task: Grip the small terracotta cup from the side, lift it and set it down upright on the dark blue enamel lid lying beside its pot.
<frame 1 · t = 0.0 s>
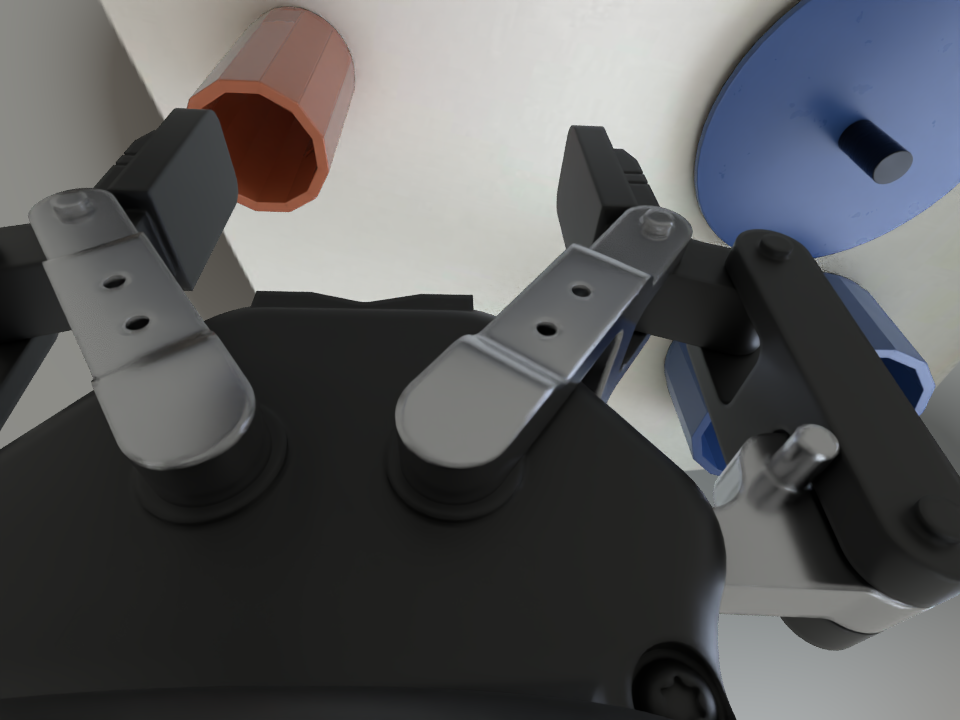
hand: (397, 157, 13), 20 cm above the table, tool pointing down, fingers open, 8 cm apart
cup: (301, 67, 29), on the table
pot: (763, 348, 48), on the table
lid: (850, 131, 33), point 1 cm above the table
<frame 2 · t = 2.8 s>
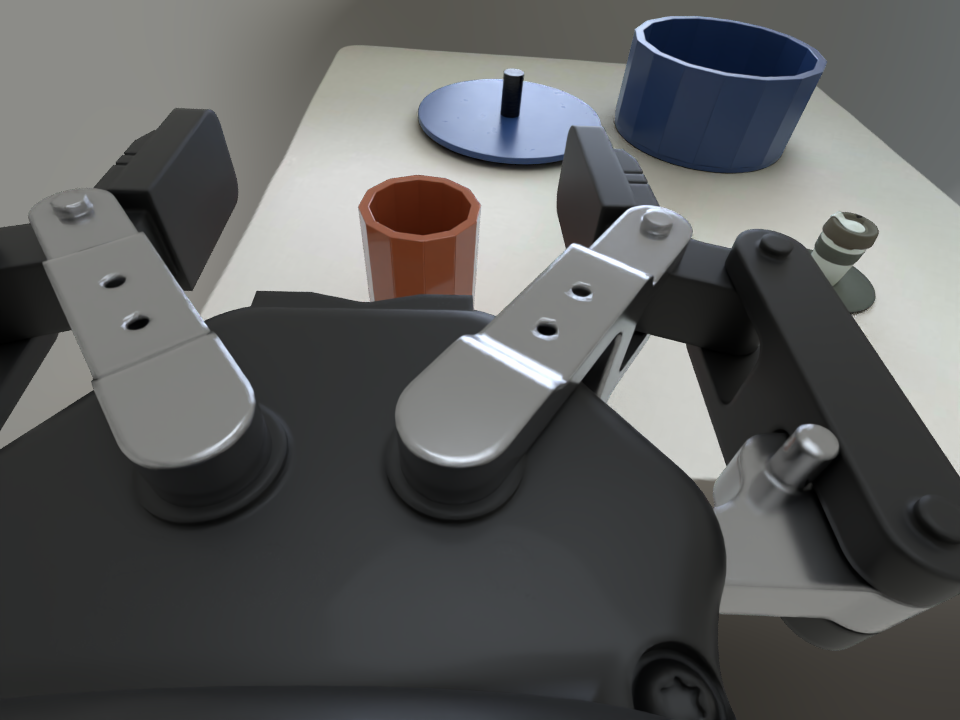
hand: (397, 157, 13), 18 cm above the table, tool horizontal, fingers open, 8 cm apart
cup: (424, 346, 33), on the table
pot: (696, 132, 57), on the table
lid: (509, 119, 55), point 1 cm above the table
coffee cup: (816, 279, 41), on the table
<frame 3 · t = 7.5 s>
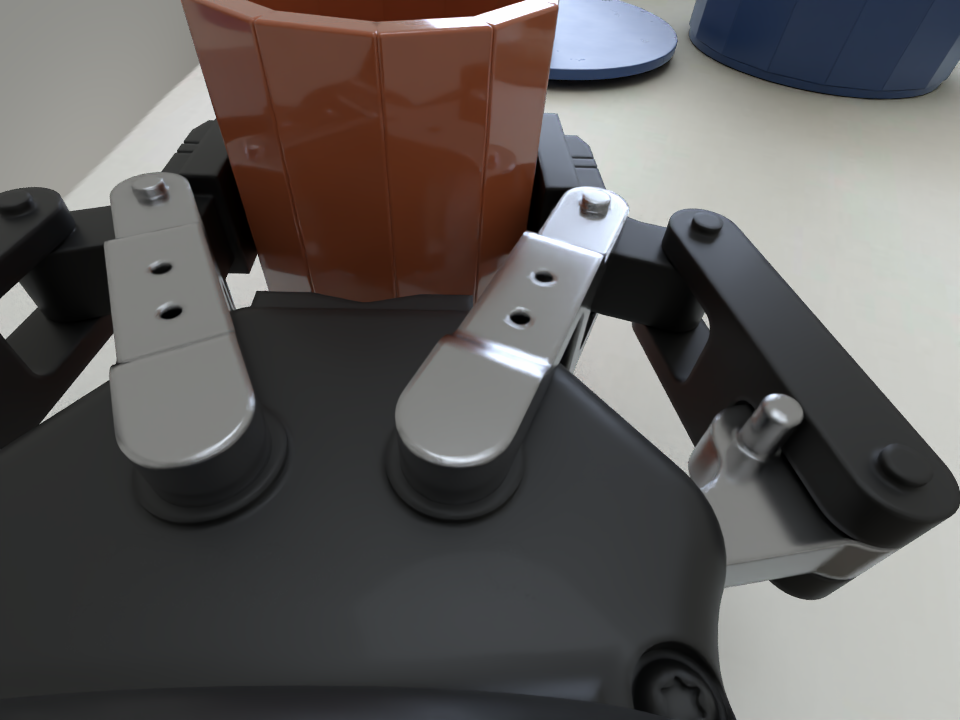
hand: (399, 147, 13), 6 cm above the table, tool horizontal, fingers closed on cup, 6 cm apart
cup: (405, 381, 16), on the table, touching gripper
pot: (808, 51, 40), on the table
lid: (540, 29, 37), point 1 cm above the table
when the fingers open (7 cm above the table, at t = 17.1 s): cup stays where it is, resting on lid.
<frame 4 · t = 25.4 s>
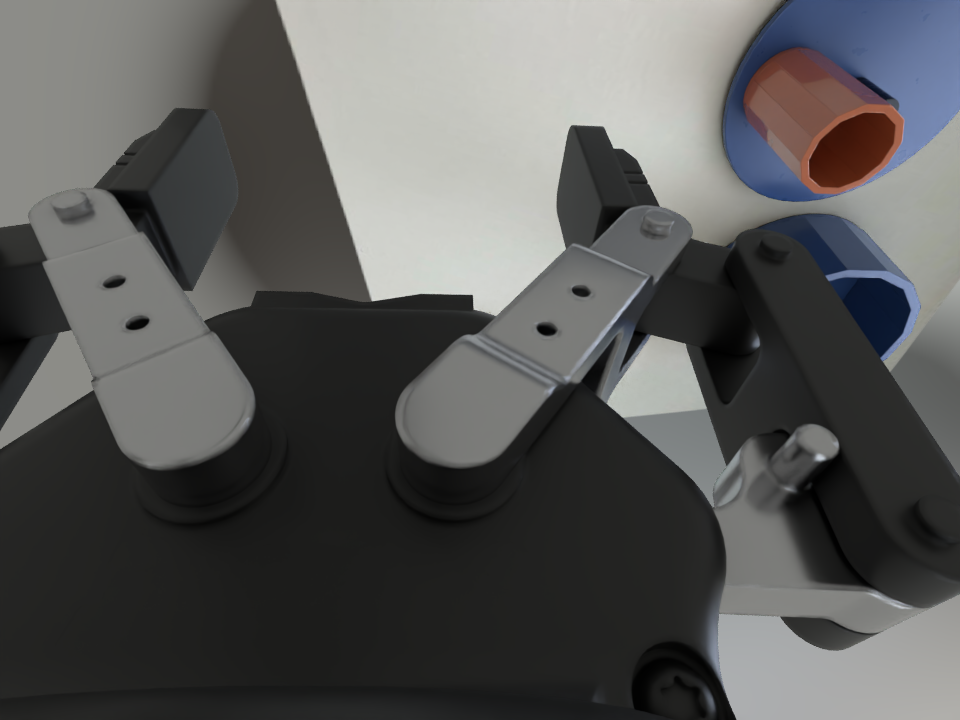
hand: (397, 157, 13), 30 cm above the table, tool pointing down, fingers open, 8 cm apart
cup: (783, 89, 40), point 1 cm above the table, touching lid
pot: (775, 286, 56), on the table
lid: (850, 87, 41), point 1 cm above the table, touching cup
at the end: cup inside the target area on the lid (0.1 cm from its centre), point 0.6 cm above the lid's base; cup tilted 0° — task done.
